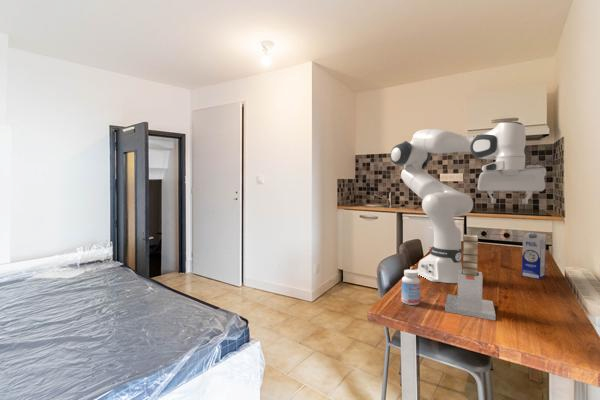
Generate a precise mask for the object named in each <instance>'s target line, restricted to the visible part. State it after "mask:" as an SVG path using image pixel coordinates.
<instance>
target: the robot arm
mask: <svg viewBox="0 0 600 400" xmlns="http://www.w3.org/2000/svg"><path fill="white" fill-rule="evenodd" d="M526 135H527V134H526V128H525V125H524V124H523V123H522V122H518V121H502V122H499V123H498V124H497V125H496V126H495V127H493V128H491V130H488V131H486V132H485V133H482V134H478V135H477V136H475V137H471V136H467V135H463V134H459V133H455V132H453V131H449V130H445V129H439V128H425V129H420V130H417V131H416V132H414V133H413V136H412V138H411V141H409V142H408V141H407V140H405V141H403V142H401V143H399V144H396V145H395V146H393V148H392V149H391V151H390V155H389V156H390V160H391V162H392V163H393V164H395V165H397V166H403V169H402V171H401V174H400V178H401V179H402V181H403V183H404V184H405V185H406V186H407V187H408V189H410V190H411V191H412V192H413V193H415V194H416V196H418V197H419V198H420V199H422V201H421V207H422V211H423V212H424V214H426V215H427V217H428V218H429V220H430V223H431V225H432V229H433V246H431V247H429V248H428V251H430V252H429V253H430V254H428V255H426V256H425V257H423V258H422V259H419V261H418V265H417V266H418V267H417V268H416V269H414V270H415V271H417V272H418V276H419V275H420V276H419V277H421V276H422V278H423V277H424V278H423V279H425V278H426V280H428V281H430V282H436V283H437V282H438V283H445V284H446V283H447V284H458V270H463V266H462V265H463V264H462V259H463V249H462V231H461V229H460V228H459V227H458V226H457V224H456V221H455V218H454V217H461V216H465V215H467V214H469V213H471V211H472V210H473V208H474V199H473V198H472V197H471V195H468V194H466V193H464V192H461V191H459V190H457V189H455V188H453V187H451V186H449V185H447V184H445V183H443V182H441V181H439V179H436V178H435V177H434V176H432V175H431V174H430V173H428V172H426V171H425V170H424V169H425V168H426V167H427V166H428V164H429V163H430V160H431V157H432V154H450V153H464V152H466V153H471V155H472V156H473V157H475V158H476V159H477V158H478V159H481V160H482V159H483V160H494V162H490V163H488V164H485V165H482V167H481V170H482V172H481V173H480V174H479V176H478V179H477V180H478V181H477V190H478V191H479V192H487V193H488V196H489V198H490V199H491V201H490V203H491V204H497V198H494V197H493V192H526V193H525V194H526V197H525V198H521V199H522V202H521V204H522V205H528V203H529V199H530V198H531V197H532V195H533V192H543V191H544V190H545V189H546V181H545V177H546V176H547V168H546V167H545V166H542V165H541V164H536V165H535V164H534V165H531V164H529V165H526V154H525V147H526V145H527V144H526V143H527V142H526V141H527V139H526V138H527V137H526Z"/></svg>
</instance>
